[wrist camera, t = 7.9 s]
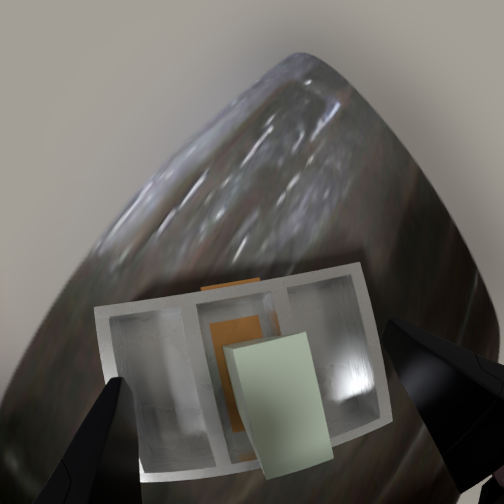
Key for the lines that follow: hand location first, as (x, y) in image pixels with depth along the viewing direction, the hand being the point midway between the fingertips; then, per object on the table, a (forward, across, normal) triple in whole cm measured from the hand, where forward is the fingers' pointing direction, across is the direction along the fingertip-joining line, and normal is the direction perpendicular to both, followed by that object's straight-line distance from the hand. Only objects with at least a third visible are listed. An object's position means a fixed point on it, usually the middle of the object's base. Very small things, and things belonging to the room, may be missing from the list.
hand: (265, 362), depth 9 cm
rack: (+6, 0, +8) cm, 9 cm away
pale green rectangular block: (+5, 0, +7) cm, 9 cm away
